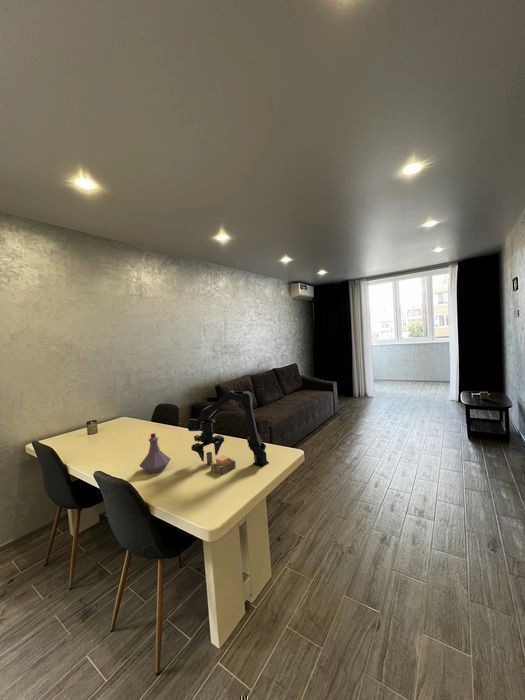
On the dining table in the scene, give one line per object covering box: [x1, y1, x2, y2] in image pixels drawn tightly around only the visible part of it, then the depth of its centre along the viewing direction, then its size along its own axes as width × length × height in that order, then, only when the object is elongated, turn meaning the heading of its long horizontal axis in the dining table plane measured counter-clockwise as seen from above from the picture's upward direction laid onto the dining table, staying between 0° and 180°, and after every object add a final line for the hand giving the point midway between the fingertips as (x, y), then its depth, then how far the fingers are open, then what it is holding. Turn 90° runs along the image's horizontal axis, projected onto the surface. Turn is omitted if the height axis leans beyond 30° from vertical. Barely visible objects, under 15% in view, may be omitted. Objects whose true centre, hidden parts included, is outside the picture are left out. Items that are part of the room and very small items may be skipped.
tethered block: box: [206, 451, 230, 466], centre depth 145 cm, size 16×5×6 cm, turn 47°
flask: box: [138, 432, 172, 475], centre depth 147 cm, size 16×16×20 cm
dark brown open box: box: [209, 457, 237, 476], centre depth 142 cm, size 9×10×4 cm
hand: (209, 458), depth 150 cm, fingers open, 9 cm apart
